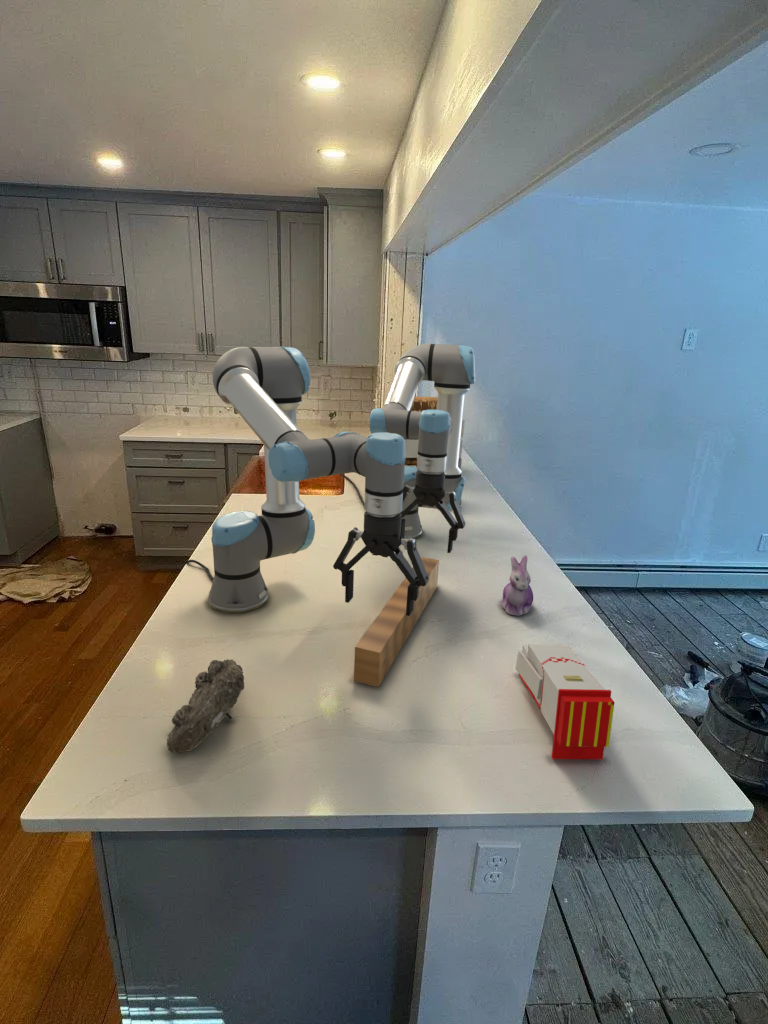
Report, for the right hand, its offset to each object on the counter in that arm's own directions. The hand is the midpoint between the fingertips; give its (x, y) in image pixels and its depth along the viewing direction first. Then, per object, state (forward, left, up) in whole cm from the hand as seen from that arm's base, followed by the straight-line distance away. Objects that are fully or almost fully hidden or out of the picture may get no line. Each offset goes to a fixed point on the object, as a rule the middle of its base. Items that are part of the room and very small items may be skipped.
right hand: (425, 547), depth 153 cm
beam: (+9, -16, -14) cm, 23 cm away
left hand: (+18, -32, +1) cm, 37 cm away
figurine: (+21, +15, -14) cm, 30 cm away
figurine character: (-48, +63, -14) cm, 81 cm away
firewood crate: (-90, +86, -14) cm, 125 cm away
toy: (+51, -13, -14) cm, 55 cm away
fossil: (+12, -67, -14) cm, 70 cm away
